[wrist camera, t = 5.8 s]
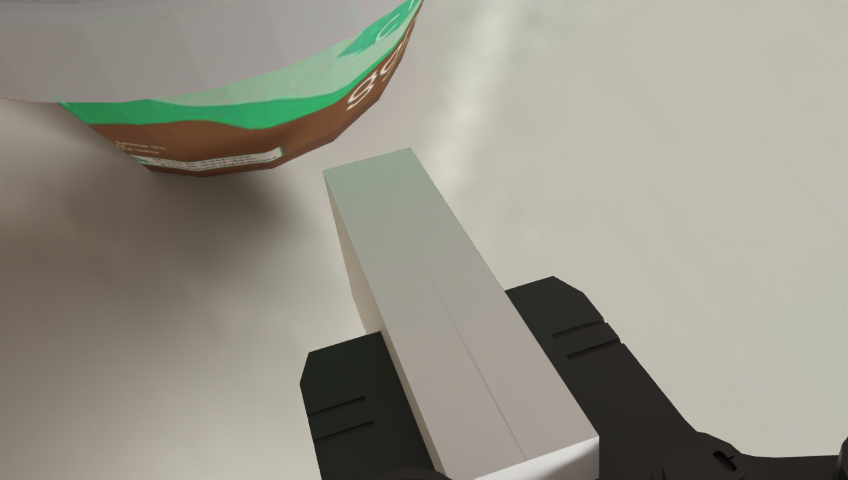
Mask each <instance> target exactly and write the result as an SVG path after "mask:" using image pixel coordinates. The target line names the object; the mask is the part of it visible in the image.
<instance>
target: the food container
mask: <svg viewBox="0 0 848 480" xmlns="http://www.w3.org/2000/svg"><path fill="white" fill-rule="evenodd" d="M422 3H423V0H0V98H5V99H12V100H20V101H27V102H57V103H58V104H59V105H61V106H62V107H63V108H65V109H66V110H68V111H69V112H70V113H72V114H73V115H75V116H76V117H77V118H79V119H80V120H81V121H83V122H84V123H86V124H87V125H88V126H90V127H91V128H92V129H94V130H95V131H97V132H98V133H99V134H101V135H102V136H103V137H105V138H106V139H108V140H109V141H110V142H112V143H113V144H114V145H116V146H117V147H119V148H120V149H121V150H123V151H124V152H126V153H127V154H128V155H130V156H131V157H132V158H134V159H135V160H137V161H138V162H139V163H141V164H142V165H143V166H145V167H146V168H148V169H149V170H150V171H157V172H165V173H173V174H180V175H188V176H196V177H203V178H204V177H211V176H219V175H226V174H234V173H242V172H249V171H257V170H265V169H272V168H275V167H277V166H279V165H282V164H284V163H286V162H288V161H290V160H293V159H295V158H297V157H299V156H301V155H304V154H306V153H308V152H310V151H312V150H315V149H317V148H319V147H321V146H323V145H326V144H328V143H330V142H332V141H334V140H335V139H336V138H337V137H338V136H339V135H341V134H342V133H343V132H344V131H345V130H346V129H347V128H348V127H349V126H350V125H351V124H353V123H354V122H355V121H356V120H357V119H358V118H359V117H360V116H361V115H362V114H363V113H365V112H366V111H367V110H368V109H369V108H370V107H371V106H372V105H373V104H374V103H376V102H377V101H378V100H379V98H380V97H381V95H382V93H383V91H384V89H385V88H386V86H387V84H388V82H389V81H390V79H391V77H392V75H393V74H394V72H395V70H396V68H397V67H398V65H399V63H400V61H401V59H402V57H403V54H404V51H405V49H406V46H407V43H408V41H409V38H410V35H411V33H412V30H413V27H414V25H415V22H416V19H417V17H418V14H419V11H420V8H421V6H422Z"/></svg>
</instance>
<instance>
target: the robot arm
mask: <svg viewBox="0 0 848 480" xmlns="http://www.w3.org/2000/svg"><path fill="white" fill-rule="evenodd" d="M323 174H324V178H325V182H326V187H327V191H328V195H329V199H330V203H331V207H332V211H333V216H334V220H335V224H336V228H337V232H338V236H339V240H340V245H341V249H342V253H343V257H344V261H345V265H346V269H347V274H348V278H349V282H350V286H351V290H352V294H353V298H354V301H355V304H356V307H357V310H358V312H359V315H360V318H361V320H362V323H363V326H364V329H365V331H366V334H367V335H365V336H361V337H358V338H355V339H352V340H348V341H345V342H342V343H338V344H335V345H332V346H329V347H325V348H322V349H319V350H315V351H312V352H309V353H308V357H307V360H306V363H305V367H304V370H303V374H302V377H301V380H300V388H301V392H302V396H303V400H304V405H305V409H306V413H307V417H308V422H309V426H310V431H311V435H312V439H313V443H314V448H315V452H316V456H317V461H318V465H319V469H320V474H321V478H322V480H848V437H847V438H846V440H845V441H844V442H843V444H842V446H841V450H840V453H839V455H830V456H805V457H781V458H773V457H755V456H750V455H746V454H742V453H740V452H739V451H738V450H737V449H736V448H734V447H733V446H732V445H731V444H729V443H727V442H725V441H723V440H720V439H718V438H716V437H713V436H711V435H709V434H707V433H702V432H697V431H696V430H695V429H694V428H693V427H692V426H691V425H690V424H689V423H688V422H687V421H686V420H685V419H684V418H683V417H682V416H681V414H680V413H679V412H678V411H677V409H676V408H675V407H674V406H673V404H672V403H671V402H670V401H669V399H668V398H667V397H666V396H665V394H664V393H663V392H662V391H661V389H660V388H659V387H658V386H657V384H656V383H655V382H654V381H653V379H652V378H651V377H650V376H649V374H648V373H647V372H646V371H645V369H644V368H643V367H642V366H641V364H640V363H639V362H638V361H637V359H636V358H635V357H634V356H633V354H632V353H631V352H630V350H629V349H628V348H627V347H626V345H625V344H624V343H623V344H621V342H620V338H619V337H618V335H617V334H616V333H615V332H614V330H613V329H612V328H611V327H610V325H609V324H608V323H605V322H604V319H603V317H602V315H601V314H600V313H599V312H598V310H597V309H596V308H595V307H594V305H593V304H592V303H591V302H590V300H589V299H588V298H587V297H586V295H585V294H584V293H583V292H581V291H579V290H577V289H575V288H574V287H572V286H570V285H568V284H567V283H565V282H563V281H561V280H559V279H558V278H556V277H554V276H551V277H548V278H545V279H541V280H538V281H535V282H531V283H528V284H525V285H521V286H518V287H515V288H512V289H508V290H505V291H504V290H503V289H502V287H501V286H500V284H499V282H498V281H497V279H496V278H495V276H494V275H493V273H492V272H491V270H490V269H489V267H488V266H487V264H486V263H485V261H484V260H483V258H482V256H481V255H480V253H479V252H478V250H477V249H476V247H475V246H474V244H473V243H472V241H471V240H470V238H469V237H468V235H467V234H466V232H465V230H464V229H463V227H462V226H461V224H460V223H459V221H458V220H457V218H456V217H455V215H454V214H453V212H452V211H451V209H450V208H449V206H448V204H447V203H446V201H445V200H444V198H443V197H442V195H441V194H440V192H439V191H438V189H437V188H436V186H435V185H434V183H433V182H432V180H431V179H430V177H429V175H428V174H427V172H426V171H425V169H424V168H423V166H422V165H421V163H420V162H419V160H418V159H417V157H416V156H415V154H414V153H413V151H412V149H411V148H407V149H403V150H399V151H395V152H392V153H388V154H384V155H380V156H376V157H373V158H369V159H365V160H361V161H357V162H354V163H350V164H346V165H342V166H338V167H335V168H331V169H327V170H323Z"/></svg>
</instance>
